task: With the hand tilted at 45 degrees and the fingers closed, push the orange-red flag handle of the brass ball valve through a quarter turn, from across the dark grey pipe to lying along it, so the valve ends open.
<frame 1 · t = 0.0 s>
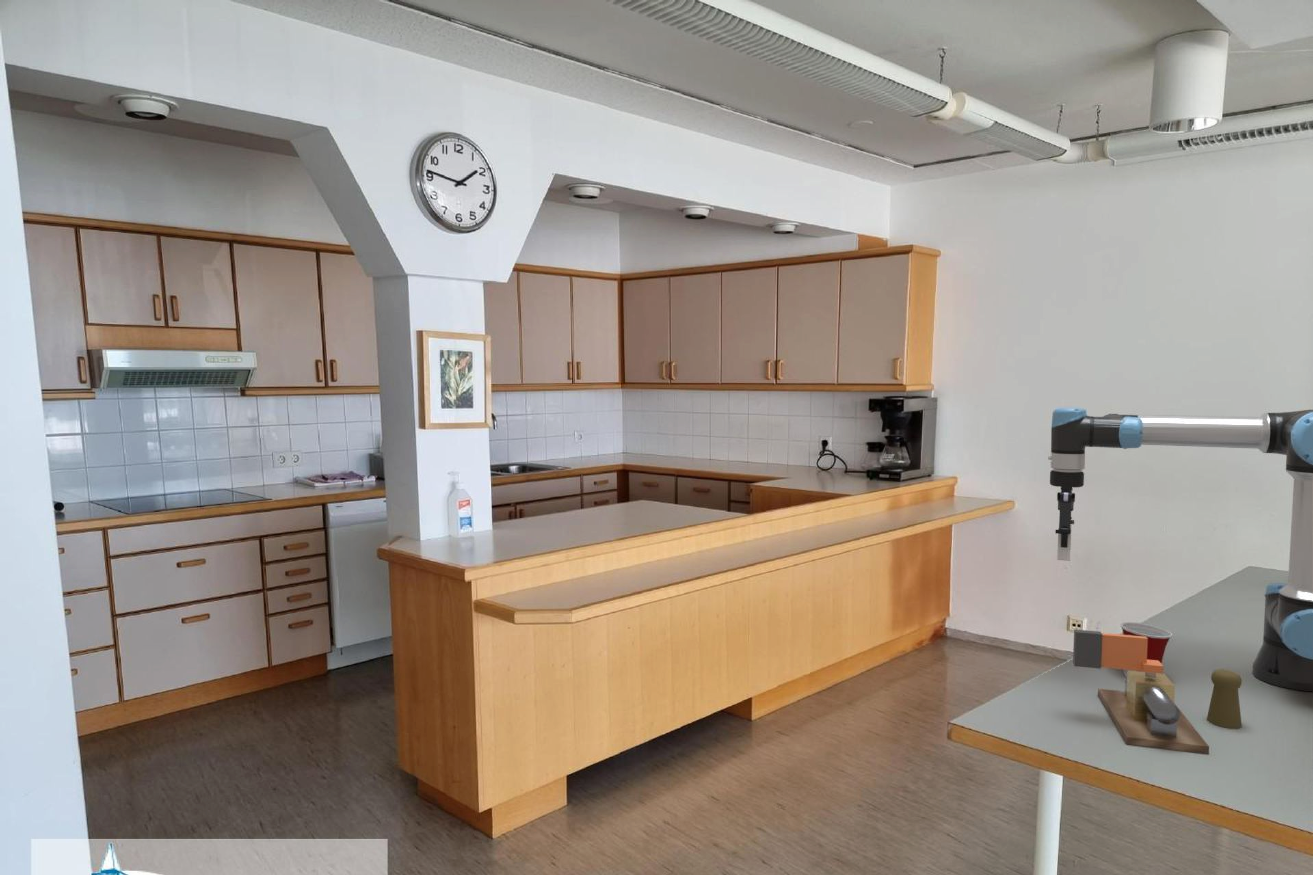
hand: (1064, 554, 202), 28 cm above the table, tool pointing down, fingers open, 13 cm apart
valve lever: (1117, 653, 171), point 14 cm above the table, hinge at 0.0°
mounting board: (1148, 721, 170), on the table
cork: (1224, 723, 170), on the table
valve body: (1149, 696, 170), on the mounting board, point 6 cm above the table
plastic cup: (1144, 676, 196), on the table
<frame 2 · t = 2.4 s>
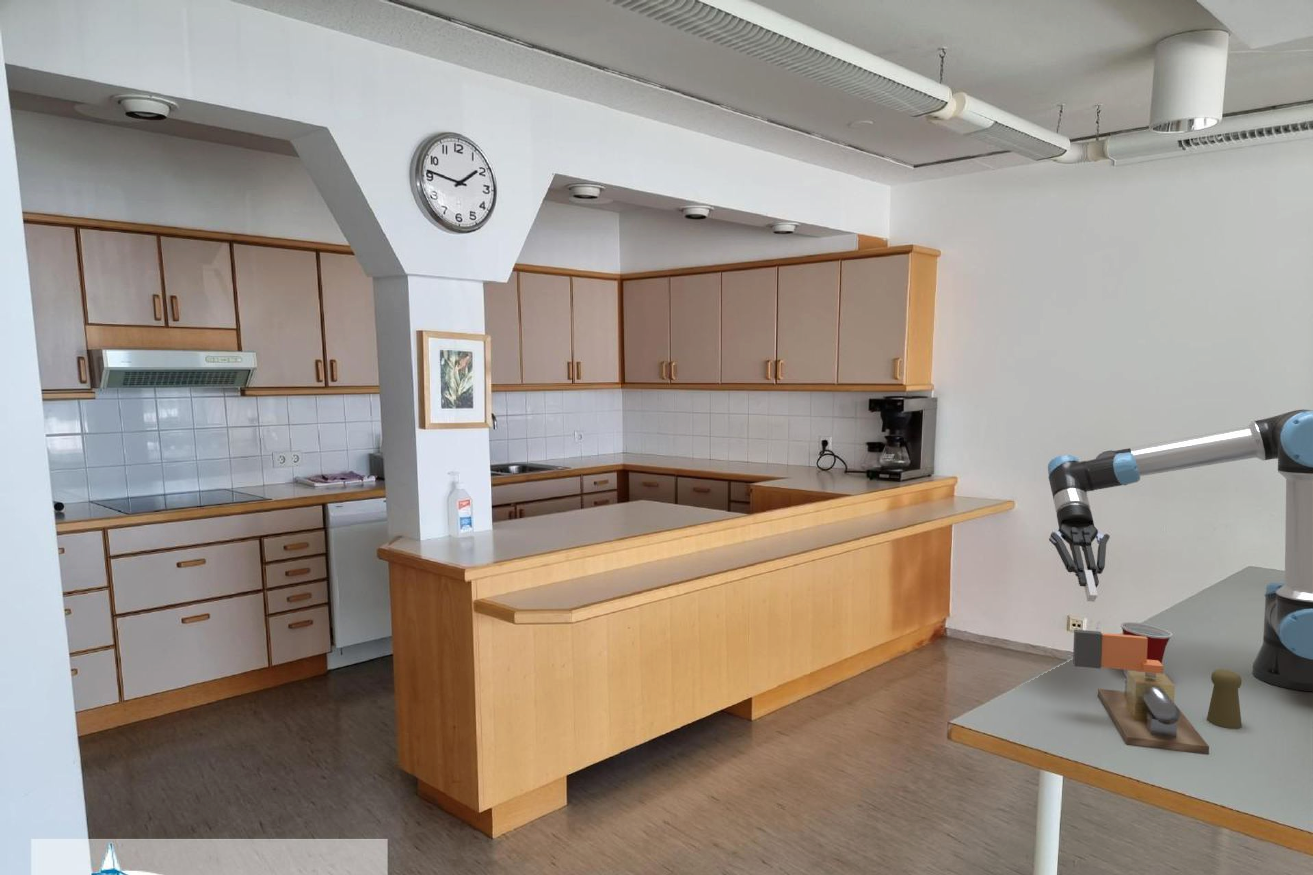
hand: (1092, 598, 180), 23 cm above the table, tool tilted 45°, fingers closed
nothing on the table moved.
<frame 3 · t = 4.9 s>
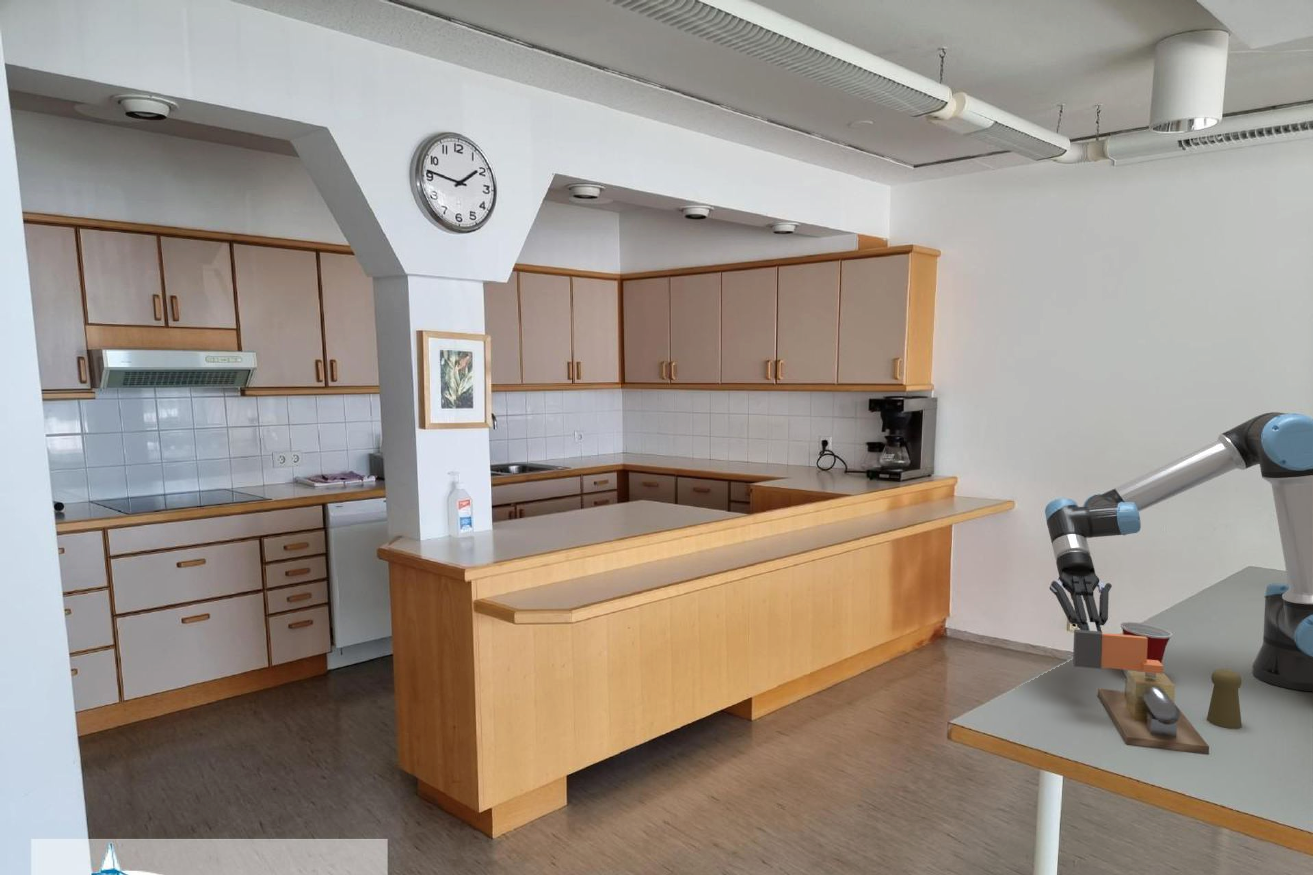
hand: (1096, 652, 174), 13 cm above the table, tool tilted 45°, fingers closed
valve lever: (1117, 653, 171), point 14 cm above the table, hinge at 0.1°, touching gripper
everything else where it was.
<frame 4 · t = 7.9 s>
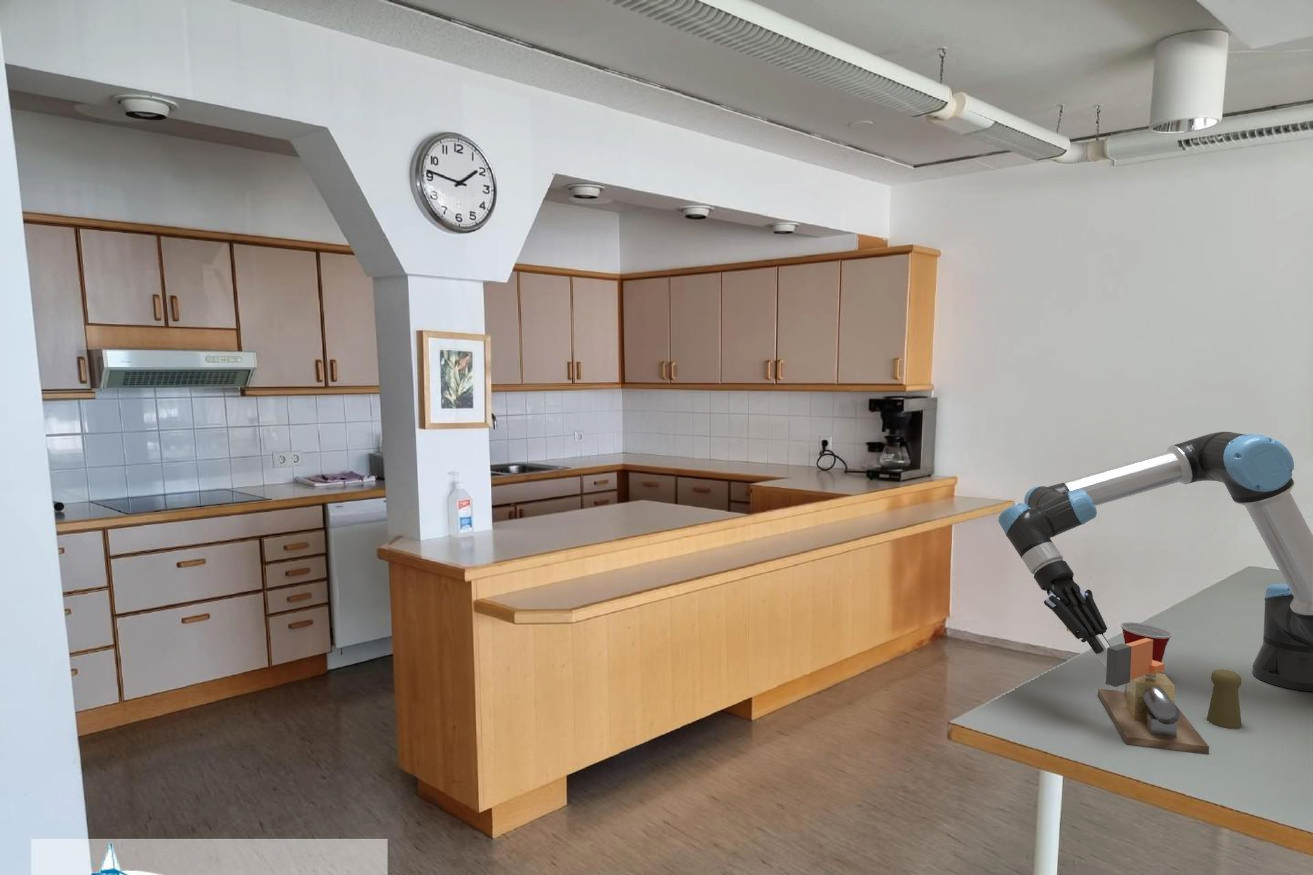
hand: (1113, 666, 166), 13 cm above the table, tool tilted 45°, fingers closed
valve lever: (1134, 662, 166), point 14 cm above the table, hinge at 48.2°, touching gripper
everything else where it was.
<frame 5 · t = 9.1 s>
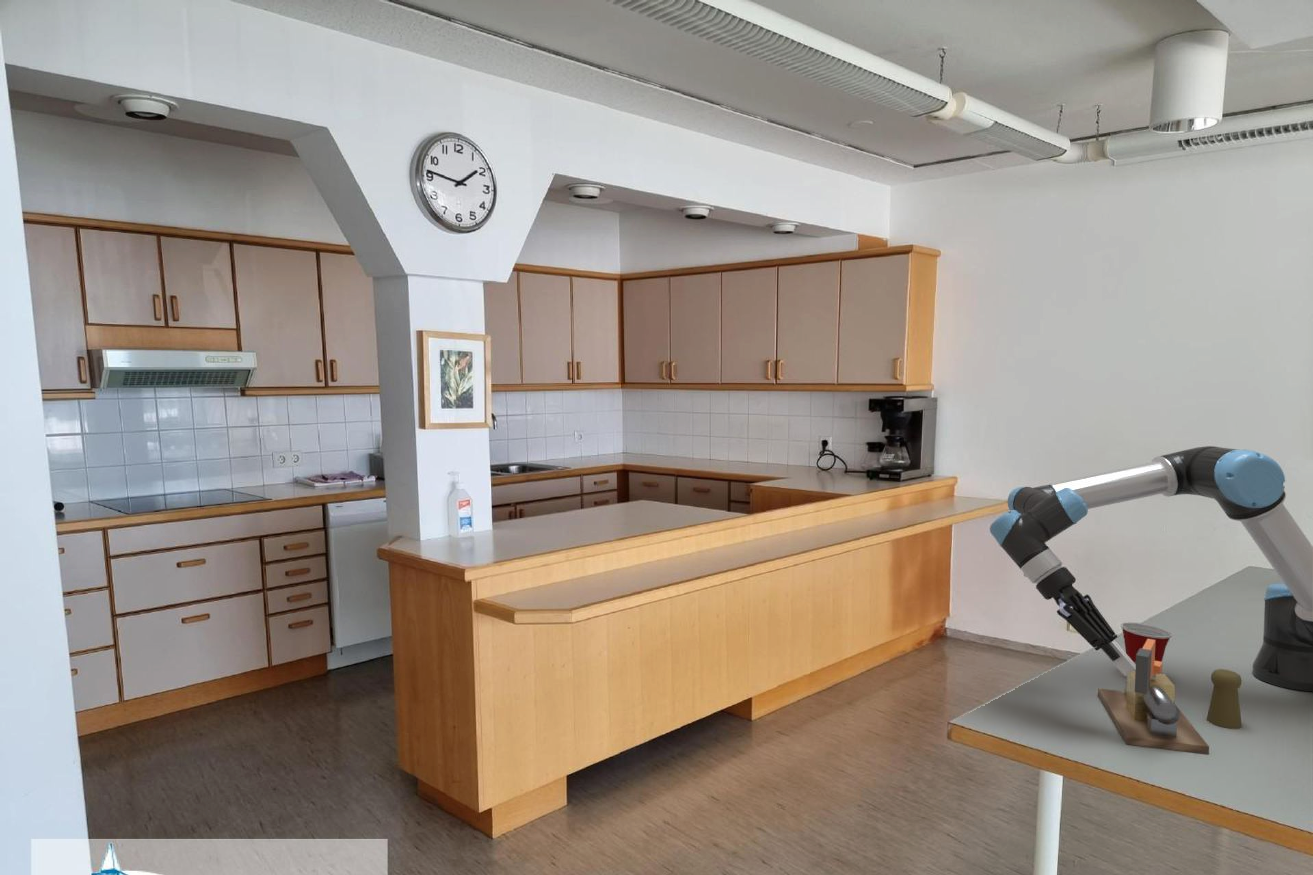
hand: (1131, 671, 163), 13 cm above the table, tool tilted 45°, fingers closed
valve lever: (1147, 665, 164), point 14 cm above the table, hinge at 69.5°, touching gripper
everything else where it was.
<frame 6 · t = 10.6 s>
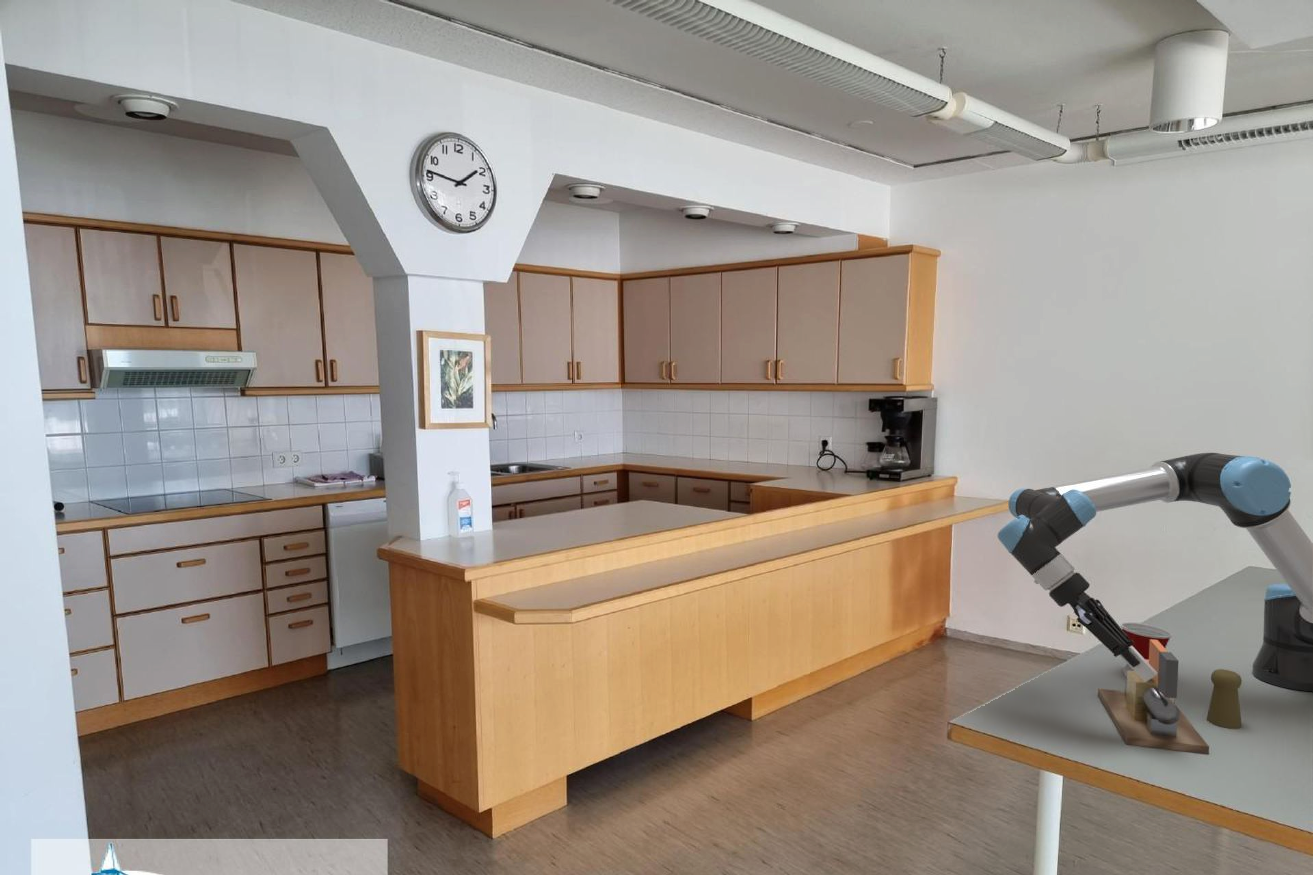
hand: (1151, 677, 160), 13 cm above the table, tool tilted 45°, fingers closed
valve lever: (1159, 666, 163), point 14 cm above the table, hinge at 89.3°, touching gripper
everything else where it was.
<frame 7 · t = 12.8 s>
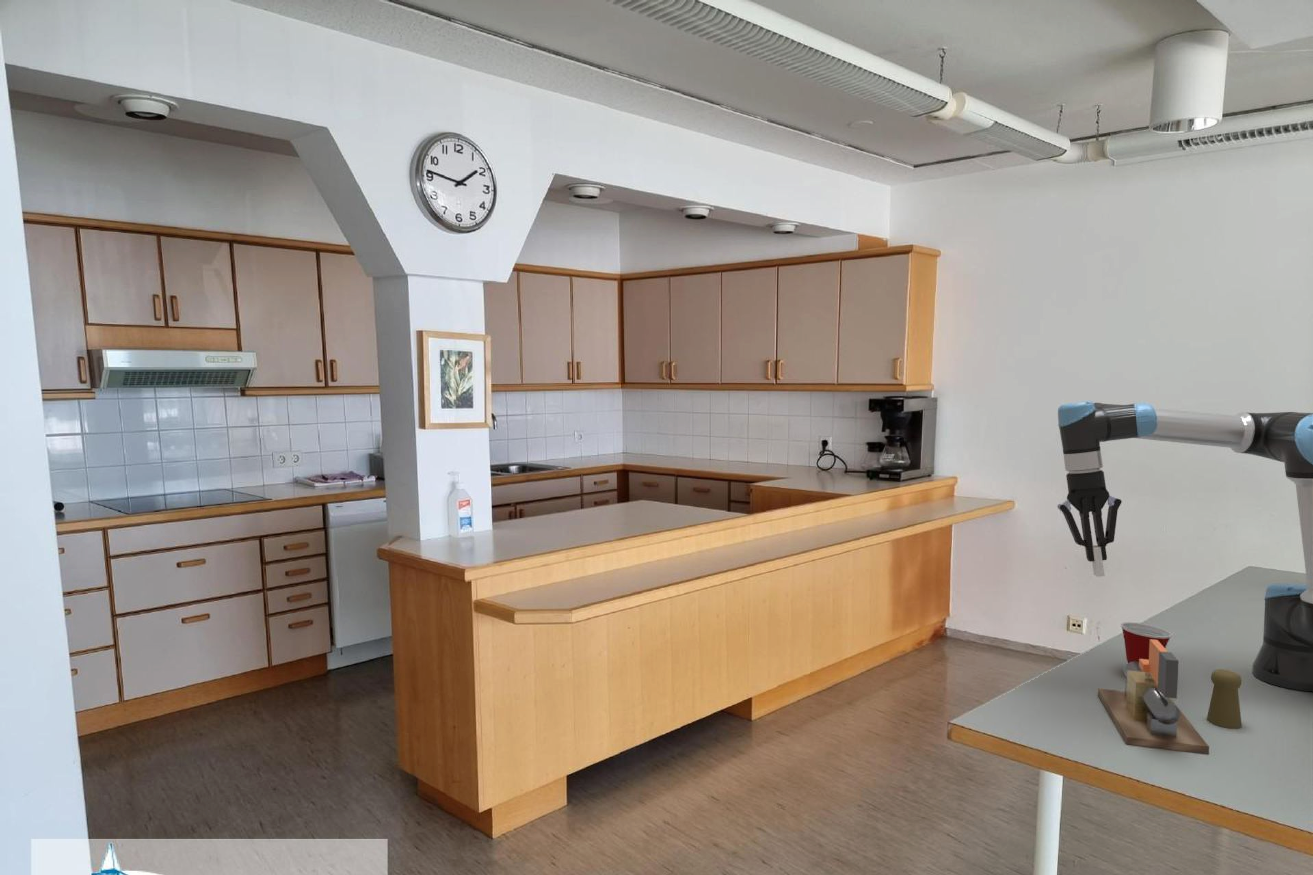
hand: (1099, 575, 181), 28 cm above the table, tool pointing down, fingers closed
valve lever: (1159, 666, 163), point 14 cm above the table, hinge at 89.3°
everything else where it was.
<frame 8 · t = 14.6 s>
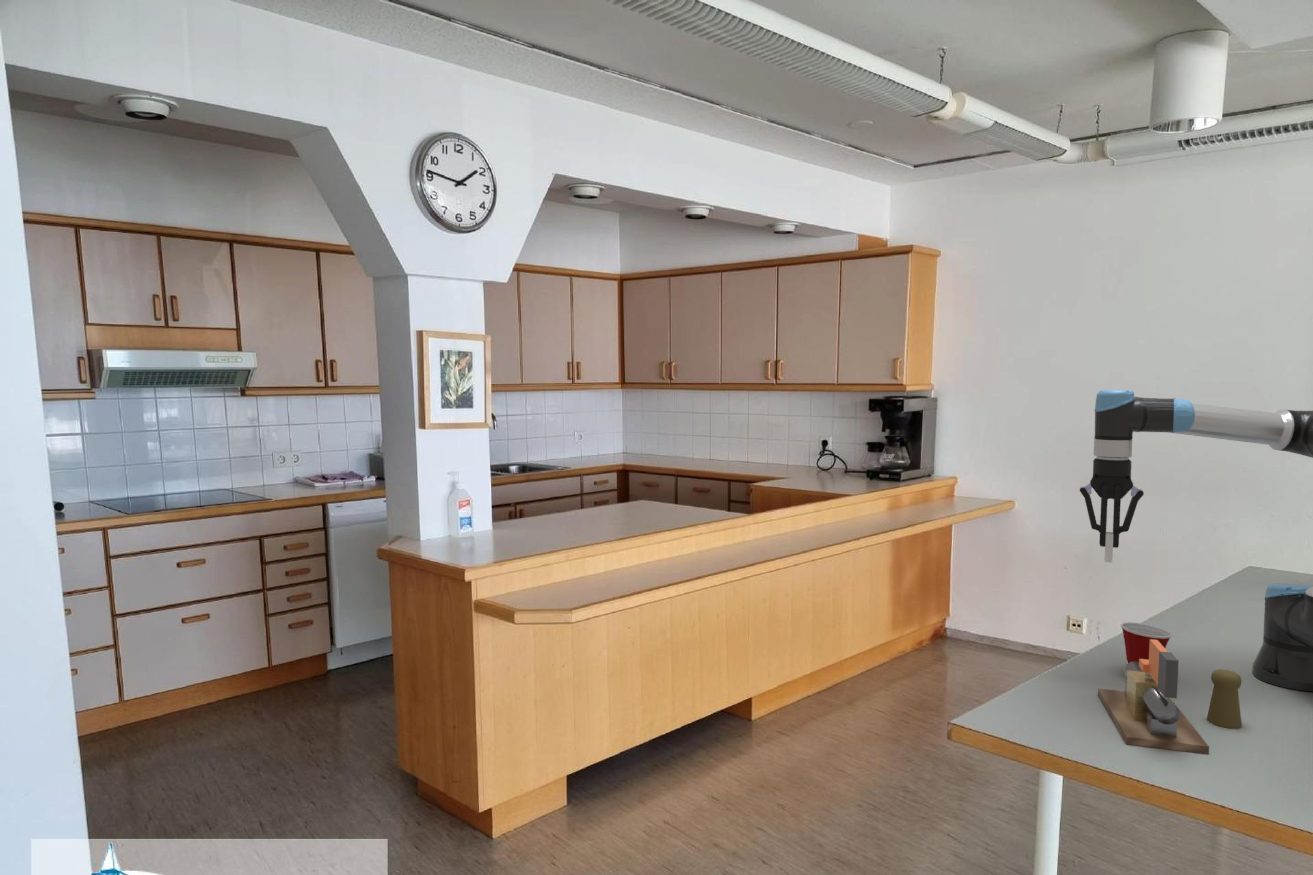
hand: (1108, 560, 185), 30 cm above the table, tool pointing down, fingers closed
nothing on the table moved.
at the end: valve lever at +89° (first picture: +0°); cork moved 0.2 cm from its start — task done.
